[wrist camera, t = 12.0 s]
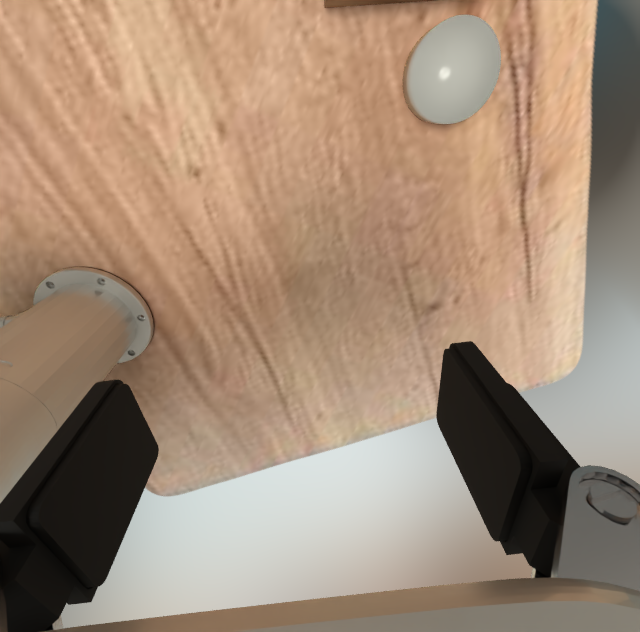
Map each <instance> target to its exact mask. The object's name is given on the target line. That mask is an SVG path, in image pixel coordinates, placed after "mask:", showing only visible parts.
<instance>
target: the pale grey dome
mask: <svg viewBox="0 0 640 632" xmlns="http://www.w3.org/2000/svg"><path fill="white" fill-rule="evenodd" d="M500 65H501V53H500V46H499V42H498V39H497V37H496V34H495V33H494V31H493V29H492V28H491V27H490V26H489V25H488V24H487V23H486V22H485V21H484V20H482V19H480V18H478V17H476V16H472V15H457V16H454V17H451V18H448V19H446V20H444V21H443V22H441V23H440V24H438V25H437V26H436V27H434V28H433V29H431V30H430V31H429V32H427V33H426V34H425V35H424V36H423V37H421V39H420V40H419V41H418V42H417V43H416V45H415V46H414V47H413V49H412V51H411V52H410V54H409V56H408V59H407V61H406V64H405V68H404V73H403V93H404V97H405V100H406V103H407V105H408V107H409V108H410V110H411V111H412V113H413V114H414V115H415V116H416V117H418V118H419V119H421V120H423V121H425V122H428V123H433V124H452V123H457V122H460V121H463V120H465V119H467V118H469V117H470V116H472V115H473V114H475V113H476V112H477V111H478V110H479V109H480V108H481V107H482V106H483V105H484V104H485V102H486V101H487V100H488V98H489V97H490V95H491V93H492V91H493V90H494V87H495V85H496V82H497V79H498V76H499V71H500Z"/></svg>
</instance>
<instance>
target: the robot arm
mask: <svg viewBox="0 0 640 632" xmlns="http://www.w3.org/2000/svg"><path fill="white" fill-rule="evenodd" d="M153 330H154V326H153V318H152V315H151V312H150V310H149V308H148V306H147V304H146V302H145V301H144V300H143V298H142V297H141V296H140V295H139V294H138V293H137V292H136V291H135V290H134V289H133V288H132V287H131V286H130V285H128V284H127V283H126V282H124V281H123V280H121V279H120V278H118V277H116V276H114V275H112V274H110V273H107V272H104V271H101V270H98V269H93V268H88V267H71V268H65V269H62V270H59V271H57V272H55V273H53V274H51V275H50V276H48V277H46V278H45V279H44V280H43V281H42V282H41V283H40V284H39V286H38V287H37V289H36V291H35V294H34V299H33V307H31V308H30V309H28V310H27V311H25V312H21V313H19V314H18V315H17V316H0V632H640V485H639V484H638V483H636V482H635V481H634V480H632V479H630V478H629V477H627V476H625V475H623V474H621V473H619V472H617V471H615V470H612V469H608V468H605V467H600V466H590V465H589V466H584V467H580V466H579V465H578V463H577V462H576V461H575V460H574V459H573V457H572V456H571V455H570V454H569V453H568V451H567V450H566V449H565V448H564V447H563V445H562V444H561V443H560V442H559V441H558V439H557V438H556V437H555V436H554V435H553V433H552V432H551V431H550V430H549V429H548V428H547V426H546V425H545V424H544V423H543V421H542V420H541V419H540V418H539V417H538V415H537V414H536V413H535V412H534V411H533V409H532V408H531V407H530V406H529V405H528V403H527V402H526V401H525V400H524V399H523V398H522V396H521V395H520V394H519V393H518V391H517V390H516V389H515V388H514V387H513V386H512V385H510V384H508V383H506V382H505V381H504V379H503V378H502V377H501V376H500V374H499V373H498V372H497V371H496V370H495V368H494V367H493V366H492V365H491V363H490V362H489V361H488V360H487V358H486V357H485V356H484V355H483V354H482V352H481V351H480V350H479V349H478V347H477V346H476V345H475V344H474V343H473V342H471V341H470V342H461V343H452V344H451V345H450V347H449V349H445V350H444V354H443V363H442V372H441V380H440V389H439V398H438V406H437V422H438V425H439V428H440V430H441V432H442V434H443V436H444V438H445V440H446V442H447V445H448V447H449V449H450V451H451V453H452V455H453V457H454V459H455V462H456V464H457V465H458V468H459V470H460V472H461V474H462V476H463V478H464V480H465V482H466V485H467V487H468V489H469V491H470V493H471V495H472V497H473V500H474V501H475V504H476V506H477V508H478V510H479V512H480V514H481V517H482V519H483V521H484V523H485V525H486V527H487V529H488V531H489V533H490V535H491V537H492V538H493V540H495V541H500V542H501V544H502V546H503V548H504V551H505V553H506V555H511V554H519V553H523V554H524V556H525V558H526V560H527V562H528V563H529V565H530V566H532V567H533V570H532V575H531V578H521V579H507V580H496V581H484V582H473V583H461V584H450V585H439V586H431V587H421V588H413V589H403V590H394V591H384V592H375V593H366V594H357V595H347V596H338V597H330V598H320V599H311V600H303V601H294V602H285V603H276V604H267V605H258V606H250V607H241V608H232V609H223V610H214V611H206V612H197V613H189V614H180V615H172V616H163V617H155V618H146V619H139V620H130V621H121V622H113V623H105V624H96V625H88V626H80V627H72V628H65V629H63V624H62V619H61V613H62V611H63V609H64V607H65V605H66V603H68V604H79V603H87V602H91V601H92V599H93V597H94V595H95V592H96V590H97V587H98V586H100V585H102V584H103V583H104V581H105V580H106V578H107V576H108V573H109V571H110V569H111V566H112V564H113V561H114V559H115V557H116V554H117V552H118V549H119V547H120V545H121V542H122V540H123V538H124V535H125V533H126V531H127V528H128V526H129V524H130V521H131V519H132V516H133V514H134V512H135V509H136V507H137V505H138V502H139V500H140V497H141V495H142V493H143V490H144V488H145V486H146V483H147V481H148V479H149V476H150V474H151V471H152V469H153V467H154V464H155V462H156V460H157V457H158V445H157V442H156V440H155V438H154V436H153V434H152V432H151V430H150V428H149V426H148V424H147V422H146V420H145V418H144V416H143V414H142V412H141V410H140V408H139V406H138V403H137V401H136V399H135V397H134V395H133V393H132V391H131V389H130V387H129V386H128V385H127V384H123V382H122V381H120V380H110V381H103V380H104V379H105V377H106V376H107V375H108V374H109V372H110V371H111V370H112V369H113V367H114V366H115V365H116V364H117V363H124V362H127V361H130V360H132V359H134V358H136V357H137V356H139V355H140V354H141V353H142V352H143V351H144V350H145V349H146V347H147V346H148V344H149V343H150V341H151V338H152V336H153Z"/></svg>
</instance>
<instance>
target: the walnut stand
mask: <svg viewBox="0 0 640 632" xmlns="http://www.w3.org/2000/svg"><path fill="white" fill-rule="evenodd" d="M417 1H432V0H324V3H325V8H329V7H344V6H358V5H373V4H388V3H403V2H417Z"/></svg>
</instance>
